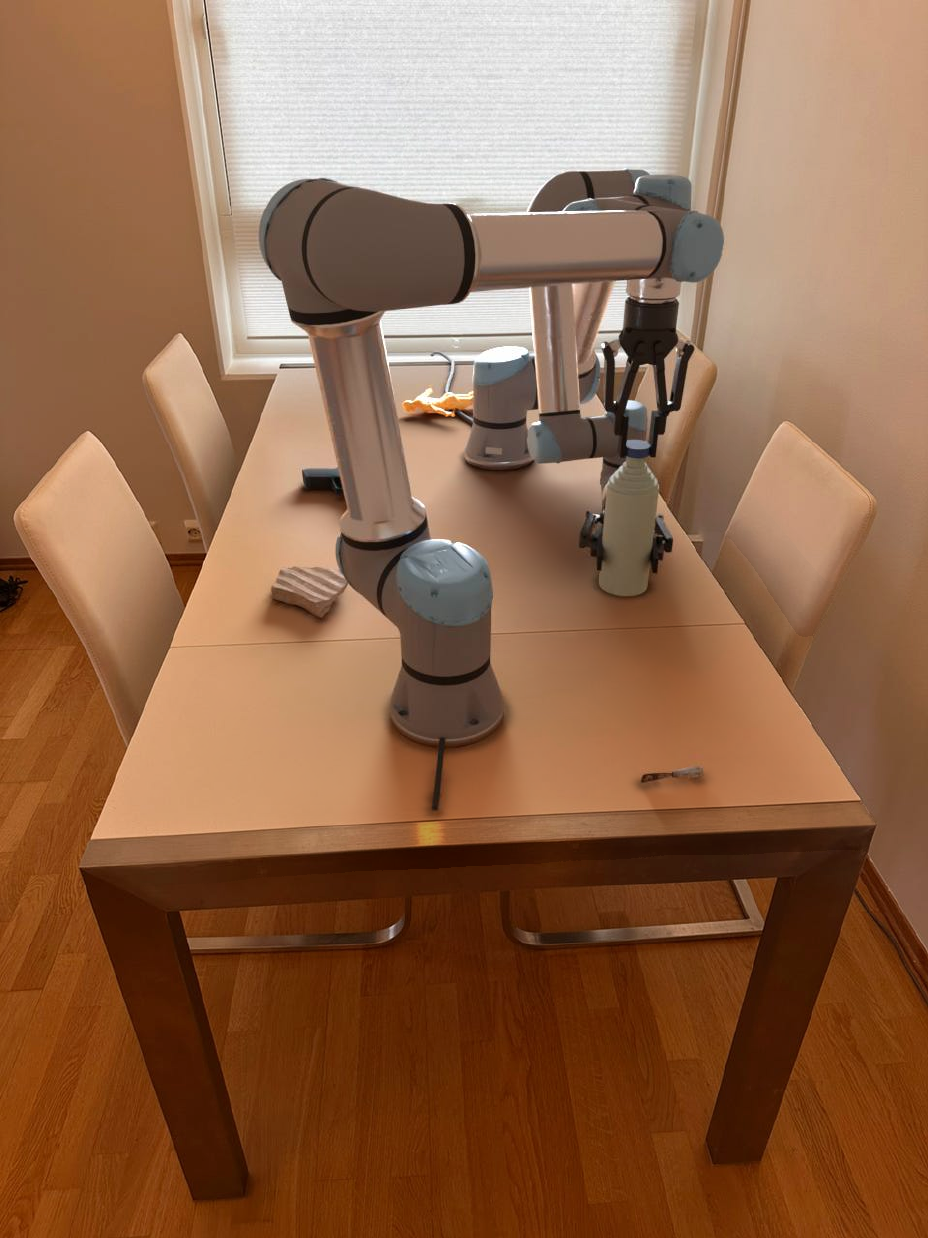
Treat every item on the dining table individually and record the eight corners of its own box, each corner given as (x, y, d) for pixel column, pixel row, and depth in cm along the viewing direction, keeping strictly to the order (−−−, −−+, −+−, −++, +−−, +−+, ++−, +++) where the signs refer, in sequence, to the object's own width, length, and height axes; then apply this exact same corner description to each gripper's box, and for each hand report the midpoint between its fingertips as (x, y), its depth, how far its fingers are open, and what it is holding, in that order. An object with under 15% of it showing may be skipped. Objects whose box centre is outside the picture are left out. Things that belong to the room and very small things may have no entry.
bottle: (608, 568, 155) (621, 436, 142) (653, 579, 152) (670, 445, 139) (591, 589, 149) (602, 453, 136) (637, 600, 146) (653, 463, 133)
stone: (359, 584, 150) (358, 571, 149) (323, 619, 141) (322, 605, 140) (294, 571, 155) (292, 558, 153) (254, 604, 145) (252, 590, 144)
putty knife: (703, 777, 109) (705, 767, 109) (642, 788, 108) (644, 777, 107) (700, 772, 110) (702, 762, 109) (639, 782, 109) (640, 771, 108)
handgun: (311, 501, 172) (373, 494, 174) (301, 466, 186) (358, 460, 188) (313, 516, 173) (374, 509, 176) (302, 480, 187) (359, 474, 190)
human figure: (395, 413, 223) (394, 398, 221) (438, 390, 237) (438, 375, 235) (462, 429, 215) (462, 413, 213) (502, 404, 229) (503, 388, 227)
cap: (622, 448, 140) (623, 439, 139) (649, 449, 140) (650, 440, 139) (623, 457, 137) (624, 448, 136) (650, 459, 136) (651, 449, 135)
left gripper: (595, 303, 122) (584, 464, 135) (719, 302, 123) (696, 462, 135) (588, 292, 129) (578, 445, 141) (706, 291, 129) (685, 444, 141)
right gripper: (678, 526, 163) (691, 588, 144) (563, 521, 165) (560, 581, 146) (683, 488, 159) (697, 547, 140) (565, 483, 161) (563, 540, 142)
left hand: (636, 453), depth 138 cm, fingers closed on cap, 4 cm apart
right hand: (627, 564), depth 143 cm, fingers closed on bottle, 8 cm apart
